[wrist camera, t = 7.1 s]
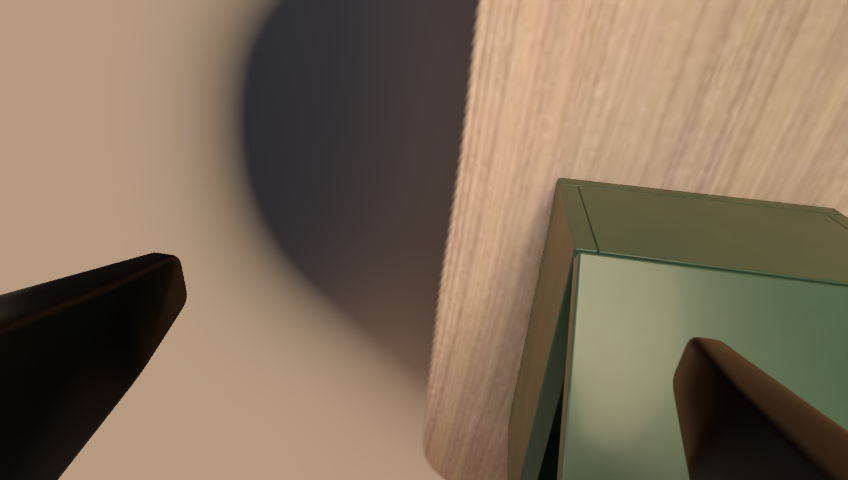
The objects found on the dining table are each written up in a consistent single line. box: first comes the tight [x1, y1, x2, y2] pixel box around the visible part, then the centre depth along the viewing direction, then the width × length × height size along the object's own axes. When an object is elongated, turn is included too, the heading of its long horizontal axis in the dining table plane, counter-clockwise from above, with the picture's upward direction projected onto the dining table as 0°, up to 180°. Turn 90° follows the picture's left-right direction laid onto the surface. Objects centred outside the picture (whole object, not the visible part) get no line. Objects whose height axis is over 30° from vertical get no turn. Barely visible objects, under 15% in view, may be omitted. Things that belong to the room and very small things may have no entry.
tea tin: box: [508, 178, 848, 480], centre depth 19 cm, size 14×10×6 cm
